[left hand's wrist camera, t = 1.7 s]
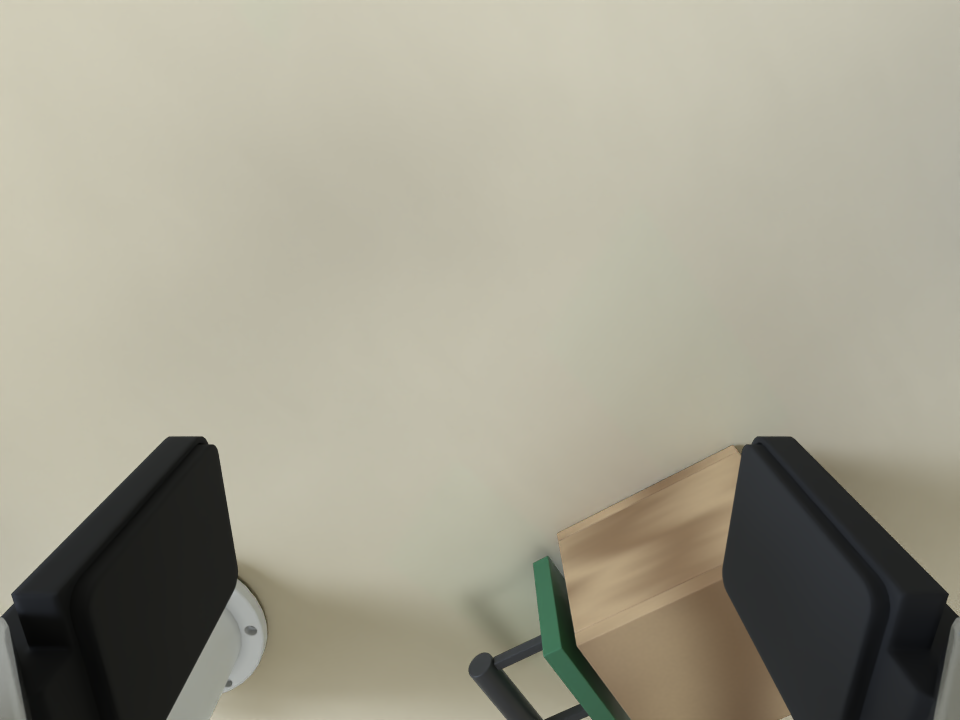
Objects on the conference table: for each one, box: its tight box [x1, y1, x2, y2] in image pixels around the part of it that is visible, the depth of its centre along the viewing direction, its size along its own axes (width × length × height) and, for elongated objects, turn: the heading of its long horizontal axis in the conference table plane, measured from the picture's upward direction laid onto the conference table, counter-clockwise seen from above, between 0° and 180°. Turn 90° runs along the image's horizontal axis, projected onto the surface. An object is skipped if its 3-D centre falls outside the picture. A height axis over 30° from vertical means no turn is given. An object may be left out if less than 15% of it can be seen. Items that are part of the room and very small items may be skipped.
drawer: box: [469, 556, 631, 720], centre depth 40 cm, size 18×10×8 cm, turn 122°
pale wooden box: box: [557, 445, 791, 720], centre depth 38 cm, size 13×11×10 cm
